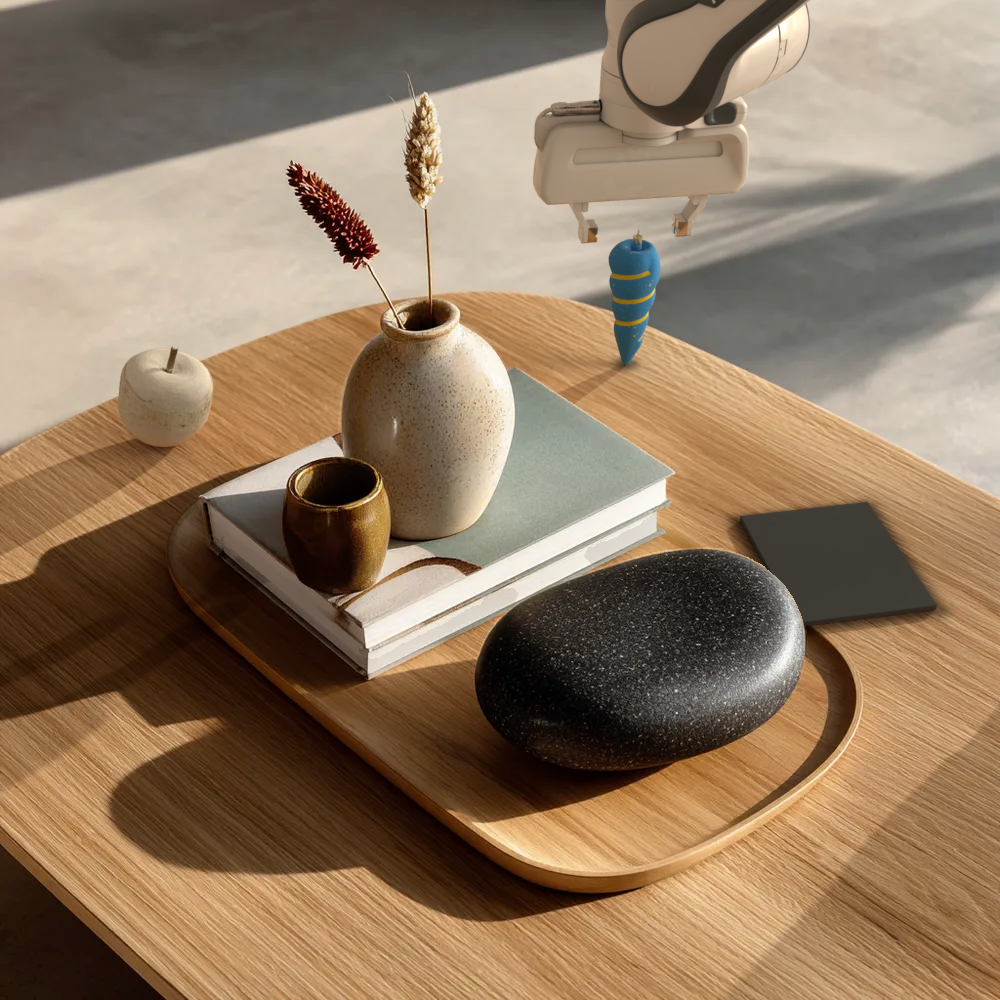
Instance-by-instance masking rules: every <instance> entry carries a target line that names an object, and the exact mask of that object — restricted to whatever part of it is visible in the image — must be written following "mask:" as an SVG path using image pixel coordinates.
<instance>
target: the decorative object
mask: <svg viewBox="0 0 1000 1000" xmlns="http://www.w3.org/2000/svg"><path fill="white" fill-rule="evenodd" d="M117 397H118V398H117V409H118V413H119V415H120V418H121V420H122V423H123V424H124V426H125V428H126V429H127V430H128V431H129V432H130V434H132V435H133V436H134V437H135V438H137V440H139V441H140V442H142V443H144V444H147V445H150V446H152V447H157V448H159V447H160V448H170V447H175V446H178V445H181V444H183V443H185V442H187V441H189V440H190V439H192V438H193V437H194V436H196V435H197V433H199V432H200V430H201V429H202V428H203V427H204V425H205V424H206V423H207V421H208V418H209V417H210V413H211V408H212V403H213V397H214V380H213V376H212V374H211V372H210V370H209V369H208V367H207V366H206V364H204V363H202V362H201V361H200V360H199V359H197V358H196V357H193V356H192V355H190V354H188V353H185V352H183V351H180V350H179V346H177V345H172V346H171V347H170V348H150V349H147V350H144V351H141V352H139V353H137V354H135V355H133V356H131V357H130V358H129V359H128V360H127V361H126V362H125V364H123V367H122V369H121V373H120V378H119V387H118V396H117Z"/></svg>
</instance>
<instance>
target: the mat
mask: <svg viewBox="0 0 1000 1000" xmlns="http://www.w3.org/2000/svg"><path fill="white" fill-rule="evenodd" d="M739 521H740V523H741V525H742V527H743V529H744V531H745V532H746V535H747V536H748V538H749V540H750V542H751V544H752V545H753V547H754V549H755V551H756V553H757V555H758V557H759V558H760V561H761V562H762V565H763V566H764V568H765V570H766V569H767V570H769V571H770V572H771V573H772V574H773V575H775V576H776V577H777V578H778V579H779V580H780V581H781V582H782V583H783V584H784V585H785V586H786V588H787V589H788V591H789V592H790V594H791V595H792V596H793V598H794V600H795V602H796V604H797V606H798V609H799V611H800V613H801V616H802V619H803V622H804V626H803V627H808V626H816V625H824V624H831V623H839V622H847V621H854V620H862V619H872V618H880V617H887V616H894V615H903V614H911V613H918V612H927V611H934V610H937V608H938V605H937V602H936V601H935V599H934V598H933V597H932V595H931V594H930V592H929V591H928V589H927V588H926V586H925V585H924V583H923V581H921V579H920V578H919V576H918V574H917V573H916V571H915V570H914V568H913V566H912V565H911V564H910V563H909V561H908V559H907V558H906V557H905V555H904V554H903V552H902V551H901V549H900V548H899V545H898V544H897V543H896V542H895V540H894V539H893V537H892V536H891V534H890V533H889V531H888V529H887V528H886V527H885V525H884V523H883V522H882V521H881V520H880V517H879V516H878V515H877V513H876V512H875V510H874V509H873V507H872V506H871V504H870V503H869V502H868V501H862V502H854V503H853V502H852V503H844V504H835V505H827V506H817V507H807V508H800V509H799V508H798V509H791V510H790V509H789V510H781V511H774V512H763V513H755V514H744V515H740V517H739ZM767 570H766V571H767Z"/></svg>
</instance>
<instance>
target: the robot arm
mask: <svg viewBox="0 0 1000 1000" xmlns="http://www.w3.org/2000/svg"><path fill="white" fill-rule="evenodd" d="M810 1H811V0H605V7H604V8H605V9H604V15H605V16H604V19H605V22H606V23H605V24H606V27H607V41H606V45H605V48H604V51H603V53H602V58H601V62H600V63H601V64H600V78H599V79H600V80H599V92H598V100H597V99H594V100H581V101H574V102H566V101H558V102H554V103H551V104H550V106H549V107H548V108H545V109H543V110H542V111H541V112H540V113H539V114H538V115H537V117H535V121H534V133H533V134H534V135H533V141H534V144H535V146H536V153H535V156H534V157H535V158H534V164H533V173H532V185H533V188H534V191H535V193H536V195H537V196H538V197H539V199H540V200H541V201H542V202H543V203H544V204H545V205H547V206H556V205H557V206H558V205H569V207H570V209H571V211H572V212H573V214H574V216H575V218H576V219H577V222H578V230H577V236H578V241H580V243H581V244H593V243H597V242H598V236H597V235H598V233H599V226H598V224H597V223H596V221H595V219H594V218H587V219H586V218H585V216H584V214H583V213H588V212H589V204H590V203H604V202H617V201H618V202H619V201H633V200H634V201H635V200H649V199H663V198H666V199H667V198H681V197H682V198H683V197H687V198H688V201H687V203H686V205H685V206H684V208H683V209H682V211H681V212H679V213H673V214H672V222H673V223H672V224H671V232H672V234H673V235H674V237H675V238H680V237H691V236H692V233H693V226H694V225H693V224H694V221H695V220H696V219H697V218H698V217H699V215H700V214H701V213H702V211H703V210H704V209H705V208H706V206H707V204H708V203H707V201H708V196H711V195H729V194H731V195H732V194H737V193H739V192H740V190H741V189H742V188H743V187H744V185H746V183H747V180H748V175H749V167H750V166H749V165H750V137H749V133H748V131H747V129H746V127H745V126H744V125H743V123H744V122H745V121H746V119H747V115H748V104H747V103H746V101H745V100H744V98H743V97H742V96H744V95H746V94H749V93H751V92H753V91H755V90H757V89H759V88H761V87H764V86H765V85H768V84H769V83H772V82H774V81H776V80H778V79H779V78H781V77H782V76H784V75H785V74H788V73H789V72H791V71H792V70H793V69H794V68H795V67H796V66H797V65H798V64H799V63H800V61H801V60H802V58H803V56H804V54H805V52H806V49H807V47H808V43H809V40H810V31H811V29H810V28H811V21H810V20H811V18H810V11H809V8H808V4H807V3H809V2H810Z"/></svg>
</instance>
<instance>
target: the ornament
mask: <svg viewBox="0 0 1000 1000" xmlns="http://www.w3.org/2000/svg"><path fill="white" fill-rule="evenodd" d="M608 266H609V268H610V271H611V273H610V276H609V279H608V283H609V287H610V290H611V293H612V296H613V297H612V300H611V311H612V314H613V316H614V322H613V334H614V338H615V342H616V346H617V349H618V353H619V356H620V360H621V363H622V365H624V366H628V365H630V364H631V362H632V360H633V358H634V357H635V355H636V354H637V353H638V351H639V349H640V348H641V346H642V345H643V342H644V333H645V331H646V329H647V326H648V324H649V319H650V310H651V308H652V306H653V305H654V302H655V299H656V287H657V285H658V284H659V280H660V277H661V268H662V267H661V260H660V256H659V253H658V250H657V248H656V246H655V245H654V244H653V243H652V242H650V241H648V240H646V239H644V237H643V235H642V234H640V229H637V233H636V234H634V235H633V237H632V238H627V239H624V240H621V241H620V242H618V243H617V244H615V245H614V246H613V247H612V249H610V252H609V254H608Z"/></svg>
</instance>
